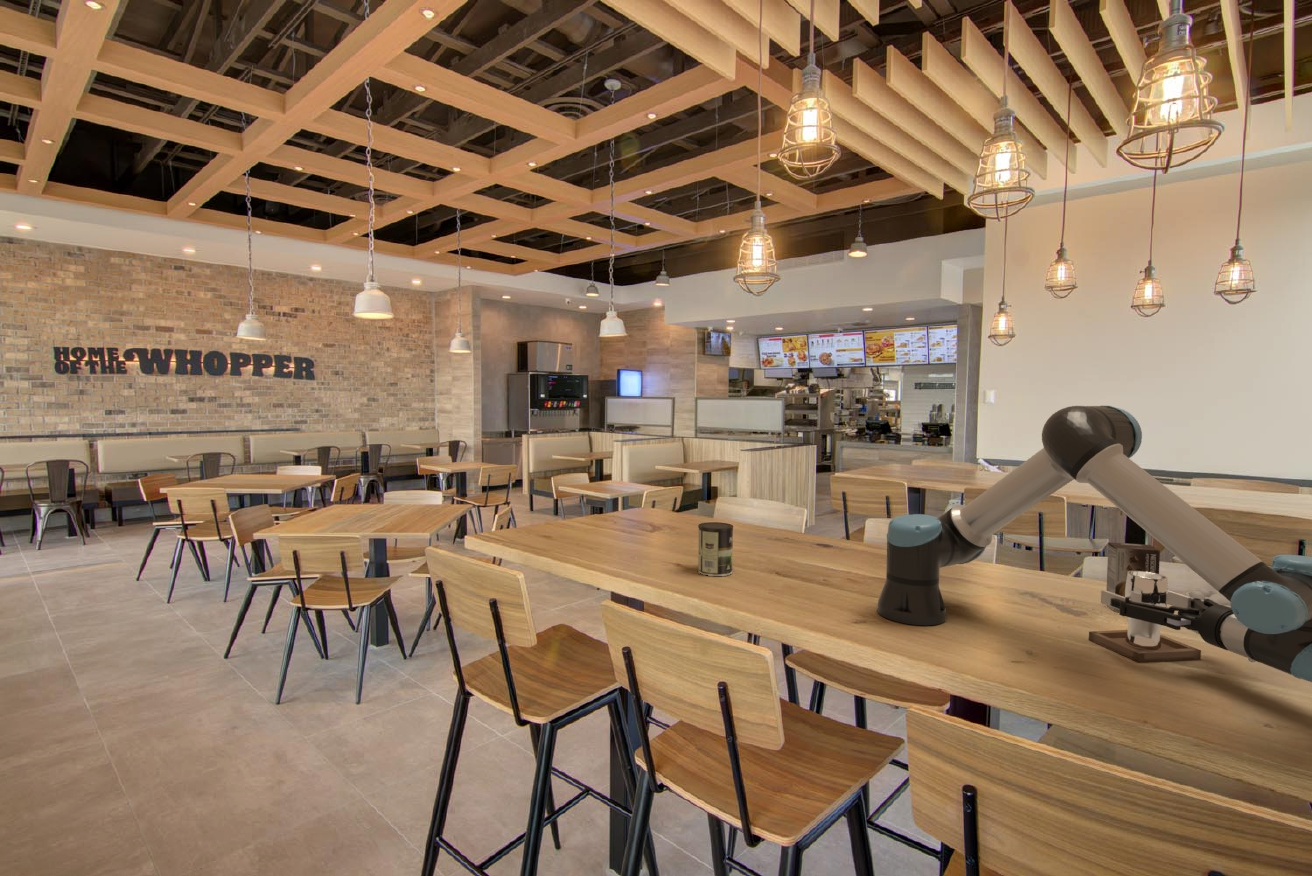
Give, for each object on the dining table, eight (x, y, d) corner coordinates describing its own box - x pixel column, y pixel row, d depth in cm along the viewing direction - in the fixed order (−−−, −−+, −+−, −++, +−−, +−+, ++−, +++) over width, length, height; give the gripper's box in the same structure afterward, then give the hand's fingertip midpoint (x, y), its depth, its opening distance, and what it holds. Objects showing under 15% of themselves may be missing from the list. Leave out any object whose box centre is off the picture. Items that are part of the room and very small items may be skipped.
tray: (1138, 662, 124) (1138, 653, 124) (1088, 639, 136) (1089, 631, 136) (1200, 659, 126) (1201, 650, 126) (1146, 637, 138) (1146, 628, 138)
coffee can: (730, 567, 192) (731, 522, 191) (734, 577, 182) (735, 528, 181) (696, 567, 192) (697, 521, 191) (698, 576, 182) (699, 528, 181)
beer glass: (1149, 640, 134) (1153, 571, 133) (1173, 653, 127) (1177, 580, 126) (1114, 639, 135) (1118, 569, 134) (1135, 651, 128) (1140, 578, 127)
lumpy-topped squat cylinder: (1201, 637, 138) (1204, 598, 138) (1171, 618, 151) (1174, 582, 150) (1260, 642, 136) (1262, 603, 135) (1224, 622, 148) (1226, 586, 148)
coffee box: (1147, 608, 158) (1150, 544, 157) (1158, 616, 152) (1161, 549, 151) (1104, 603, 161) (1107, 541, 160) (1113, 611, 155) (1116, 546, 154)
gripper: (1173, 655, 111) (1077, 614, 132) (1294, 649, 114) (1181, 610, 135) (1175, 613, 111) (1079, 579, 132) (1297, 608, 114) (1183, 576, 135)
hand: (1131, 595), depth 134 cm, fingers open, 13 cm apart
